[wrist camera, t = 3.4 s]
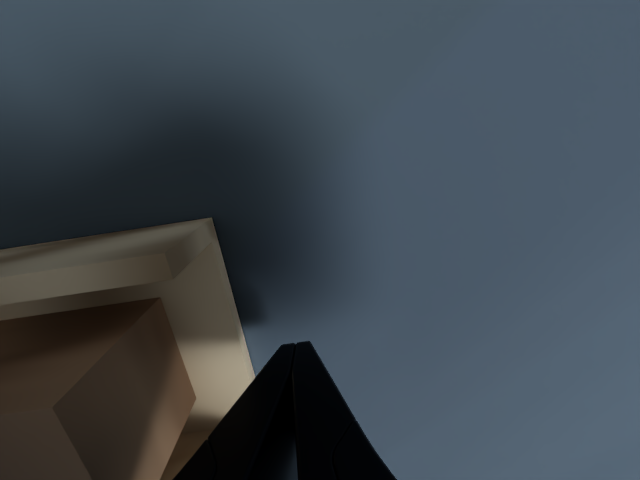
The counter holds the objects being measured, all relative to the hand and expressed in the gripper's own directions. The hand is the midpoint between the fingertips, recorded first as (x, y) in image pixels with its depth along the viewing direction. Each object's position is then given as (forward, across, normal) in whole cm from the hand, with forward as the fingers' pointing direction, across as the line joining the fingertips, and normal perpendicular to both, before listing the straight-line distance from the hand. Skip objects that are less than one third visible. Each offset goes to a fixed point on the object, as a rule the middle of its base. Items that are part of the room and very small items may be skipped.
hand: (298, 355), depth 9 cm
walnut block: (+1, +7, 0) cm, 7 cm away
